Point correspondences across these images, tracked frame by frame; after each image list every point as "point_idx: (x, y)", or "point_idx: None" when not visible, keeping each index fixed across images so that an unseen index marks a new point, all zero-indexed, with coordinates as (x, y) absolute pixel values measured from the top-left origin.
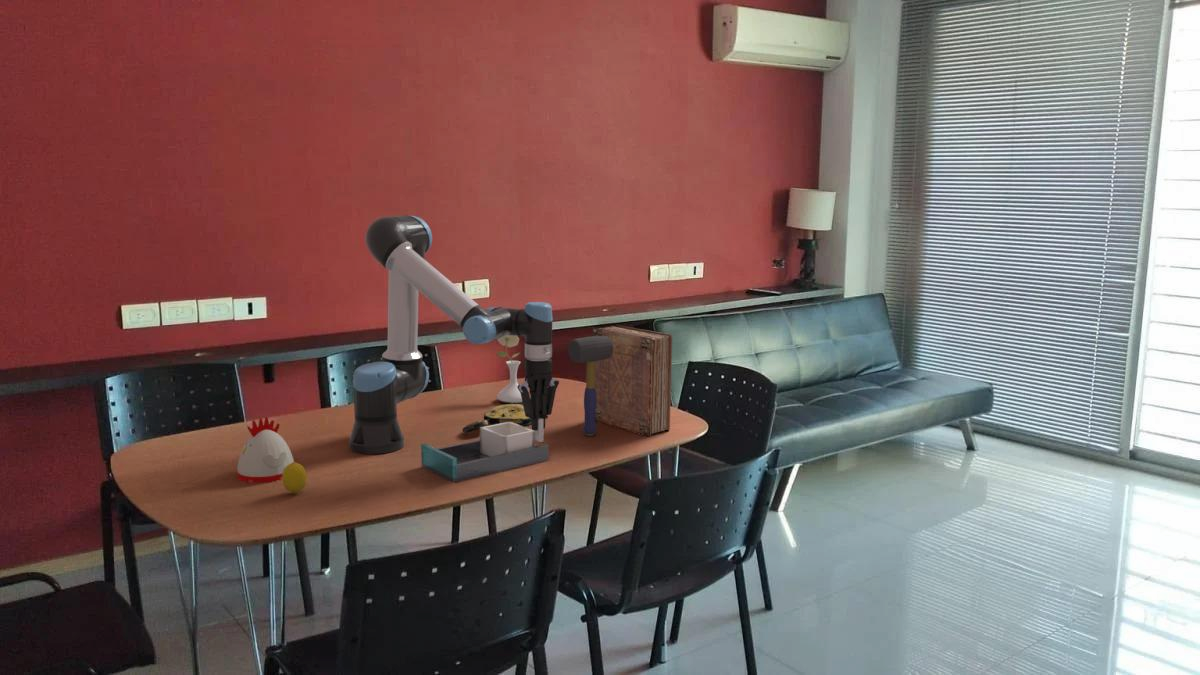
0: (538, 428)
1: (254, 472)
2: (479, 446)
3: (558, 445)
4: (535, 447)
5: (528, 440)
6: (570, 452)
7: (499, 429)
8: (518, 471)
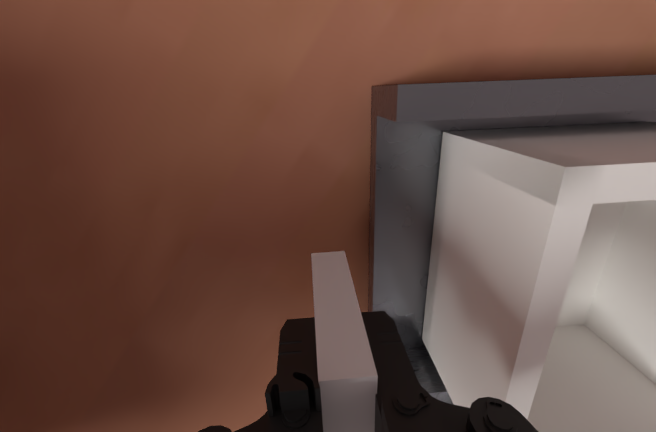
0: (359, 315)
1: None
2: None
3: (180, 274)
4: (511, 95)
5: (578, 145)
6: (177, 136)
7: (569, 411)
8: (634, 8)
